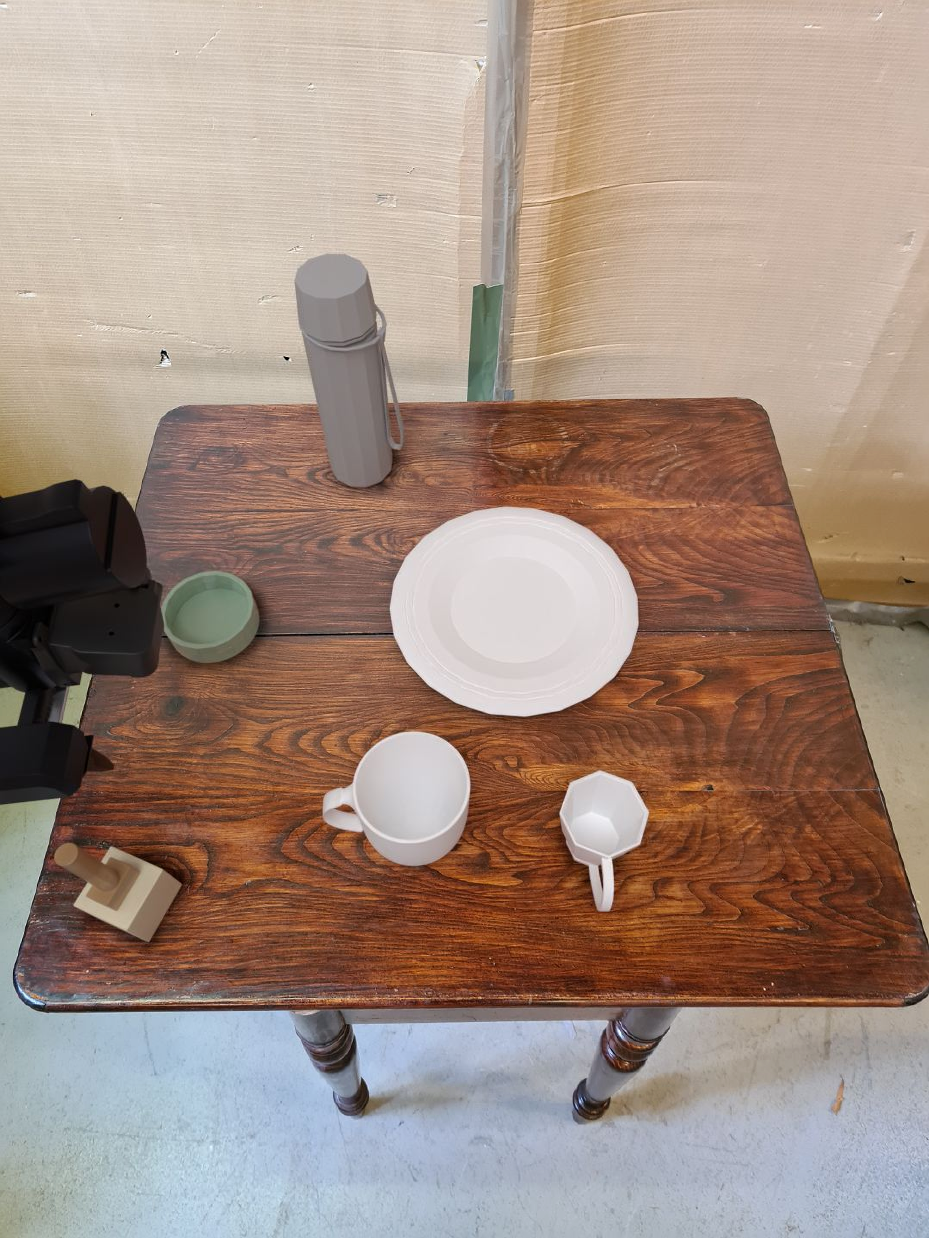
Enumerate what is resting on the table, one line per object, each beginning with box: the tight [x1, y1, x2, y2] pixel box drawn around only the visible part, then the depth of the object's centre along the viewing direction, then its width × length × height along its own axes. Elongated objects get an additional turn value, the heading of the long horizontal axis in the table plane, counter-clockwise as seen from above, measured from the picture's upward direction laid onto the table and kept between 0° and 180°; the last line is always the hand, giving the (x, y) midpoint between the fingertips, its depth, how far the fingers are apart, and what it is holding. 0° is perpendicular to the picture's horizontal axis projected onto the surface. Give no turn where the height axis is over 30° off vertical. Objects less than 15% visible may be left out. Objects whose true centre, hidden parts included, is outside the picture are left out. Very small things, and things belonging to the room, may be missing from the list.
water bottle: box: [294, 253, 405, 488], centre depth 81 cm, size 9×8×25 cm
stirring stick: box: [54, 842, 140, 911], centre depth 58 cm, size 2×3×10 cm, turn 158°
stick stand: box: [73, 845, 183, 943], centre depth 64 cm, size 5×5×5 cm
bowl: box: [161, 570, 260, 664], centre depth 79 cm, size 9×9×3 cm
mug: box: [322, 730, 471, 867], centre depth 64 cm, size 12×9×12 cm
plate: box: [389, 506, 640, 718], centre depth 80 cm, size 25×25×2 cm
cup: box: [558, 769, 650, 912], centre depth 65 cm, size 7×10×8 cm
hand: (118, 710), depth 59 cm, fingers open, 9 cm apart
